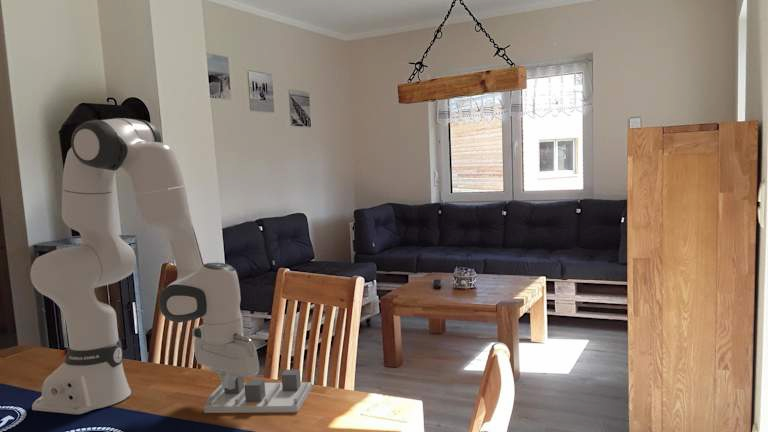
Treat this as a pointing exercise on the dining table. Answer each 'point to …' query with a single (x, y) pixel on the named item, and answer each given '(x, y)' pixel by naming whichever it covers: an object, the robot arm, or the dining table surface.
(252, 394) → the grey cubic block
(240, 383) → the gray cube
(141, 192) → the robot arm
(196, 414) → the dining table surface
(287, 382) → the grey cube
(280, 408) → the switch board
